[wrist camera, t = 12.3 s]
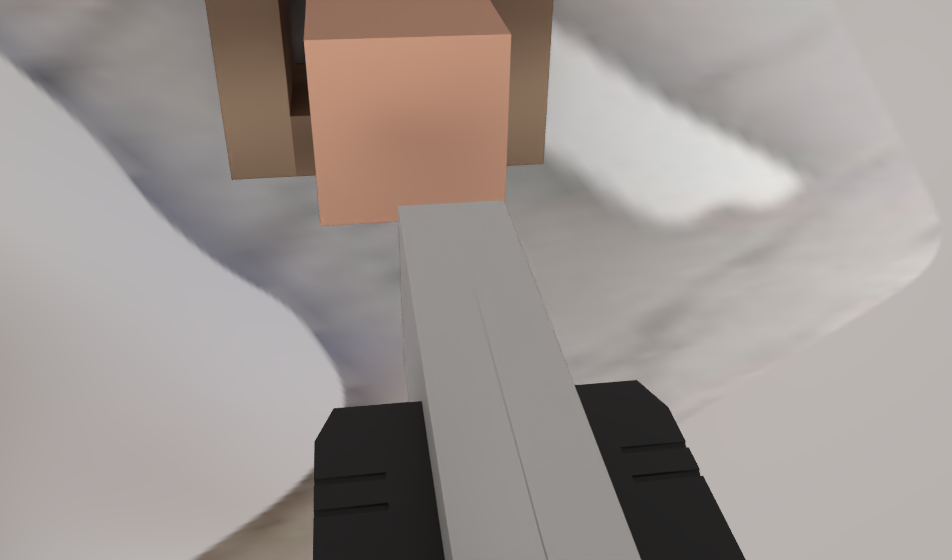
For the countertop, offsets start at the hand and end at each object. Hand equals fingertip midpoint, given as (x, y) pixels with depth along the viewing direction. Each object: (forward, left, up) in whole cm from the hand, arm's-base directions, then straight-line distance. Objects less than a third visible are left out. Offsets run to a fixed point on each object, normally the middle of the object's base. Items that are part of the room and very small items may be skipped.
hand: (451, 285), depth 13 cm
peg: (0, 0, -20) cm, 20 cm away
